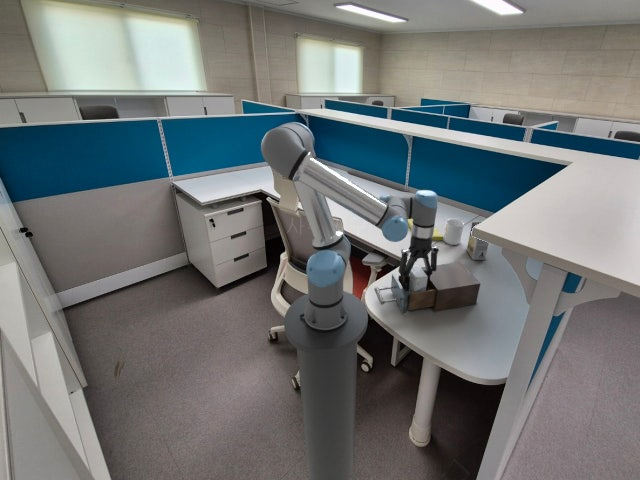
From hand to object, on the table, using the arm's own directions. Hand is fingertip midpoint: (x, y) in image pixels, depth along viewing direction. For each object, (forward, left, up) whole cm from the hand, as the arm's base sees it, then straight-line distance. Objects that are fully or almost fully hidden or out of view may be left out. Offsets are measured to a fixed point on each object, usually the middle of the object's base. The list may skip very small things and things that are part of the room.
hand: (415, 287), depth 114 cm
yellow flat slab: (+28, +53, -6) cm, 60 cm away
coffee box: (+43, +24, -6) cm, 50 cm away
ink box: (0, 0, -4) cm, 4 cm away
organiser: (+14, 0, -6) cm, 15 cm away
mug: (+38, +40, -6) cm, 56 cm away
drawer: (-3, 0, -5) cm, 6 cm away
